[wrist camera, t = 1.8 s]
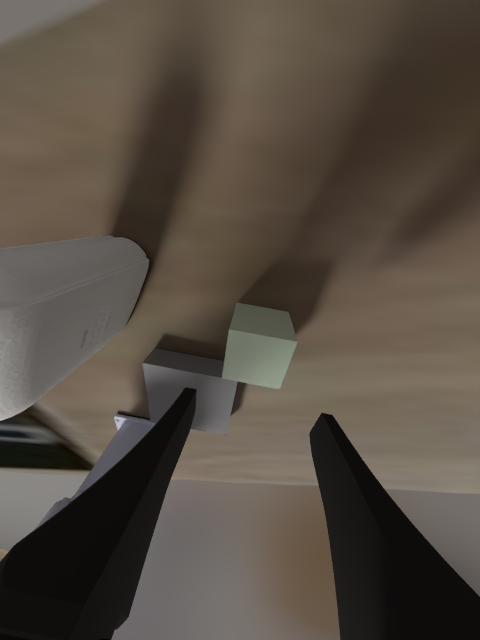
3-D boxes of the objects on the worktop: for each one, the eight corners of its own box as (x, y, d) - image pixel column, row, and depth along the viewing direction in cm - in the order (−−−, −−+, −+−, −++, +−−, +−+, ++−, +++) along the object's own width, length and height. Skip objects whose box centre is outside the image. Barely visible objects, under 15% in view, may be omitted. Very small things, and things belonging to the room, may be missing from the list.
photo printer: (126, 334, 21) (-19, 459, 10) (88, 314, 20) (-114, 426, 9) (159, 256, 16) (-41, 331, 5) (112, 225, 15) (-236, 242, 5)
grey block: (229, 414, 27) (226, 435, 24) (161, 400, 27) (150, 420, 24) (240, 361, 22) (237, 381, 19) (156, 345, 22) (142, 362, 19)
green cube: (275, 352, 20) (279, 389, 16) (230, 343, 20) (221, 378, 16) (288, 311, 18) (297, 342, 13) (236, 302, 18) (229, 329, 13)
